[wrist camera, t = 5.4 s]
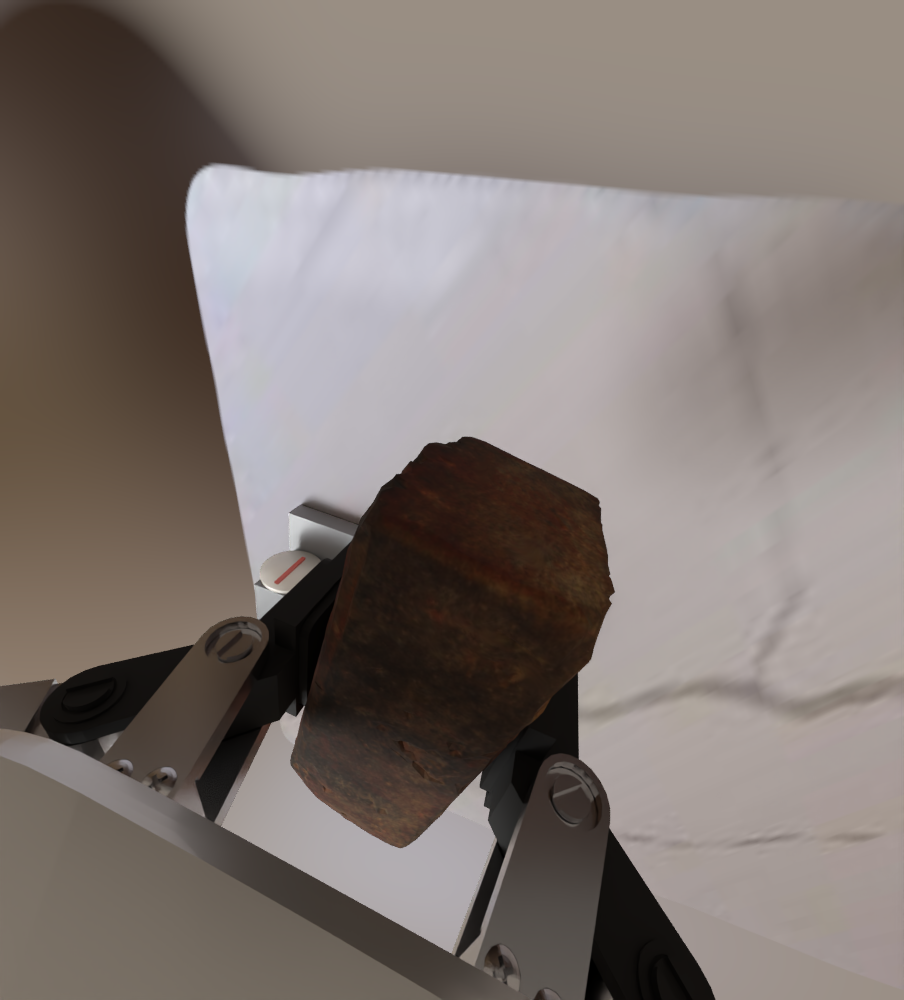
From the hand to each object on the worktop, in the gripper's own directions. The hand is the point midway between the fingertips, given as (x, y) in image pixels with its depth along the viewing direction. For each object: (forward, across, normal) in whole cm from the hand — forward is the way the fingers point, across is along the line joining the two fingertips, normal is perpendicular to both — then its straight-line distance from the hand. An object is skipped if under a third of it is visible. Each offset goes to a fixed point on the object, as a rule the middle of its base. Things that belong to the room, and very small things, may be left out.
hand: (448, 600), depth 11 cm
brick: (+1, 0, 0) cm, 1 cm away
